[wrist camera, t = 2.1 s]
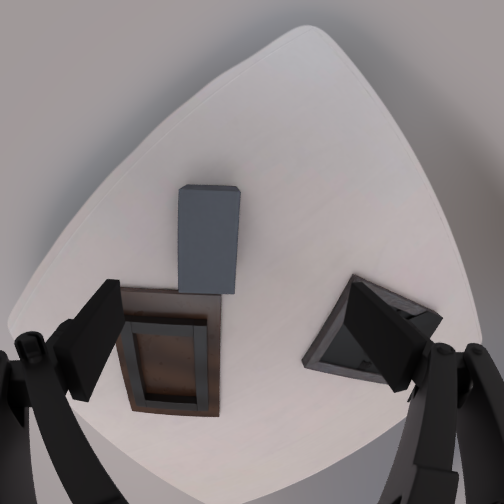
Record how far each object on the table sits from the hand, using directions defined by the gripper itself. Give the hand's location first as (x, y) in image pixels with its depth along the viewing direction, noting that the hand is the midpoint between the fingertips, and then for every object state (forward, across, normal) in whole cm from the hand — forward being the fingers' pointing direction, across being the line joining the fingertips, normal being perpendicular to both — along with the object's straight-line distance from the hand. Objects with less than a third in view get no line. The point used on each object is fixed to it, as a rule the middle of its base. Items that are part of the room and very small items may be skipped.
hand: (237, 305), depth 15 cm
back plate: (+15, -7, -16) cm, 23 cm away
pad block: (+15, -2, +1) cm, 16 cm away
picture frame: (+16, +21, -14) cm, 29 cm away
